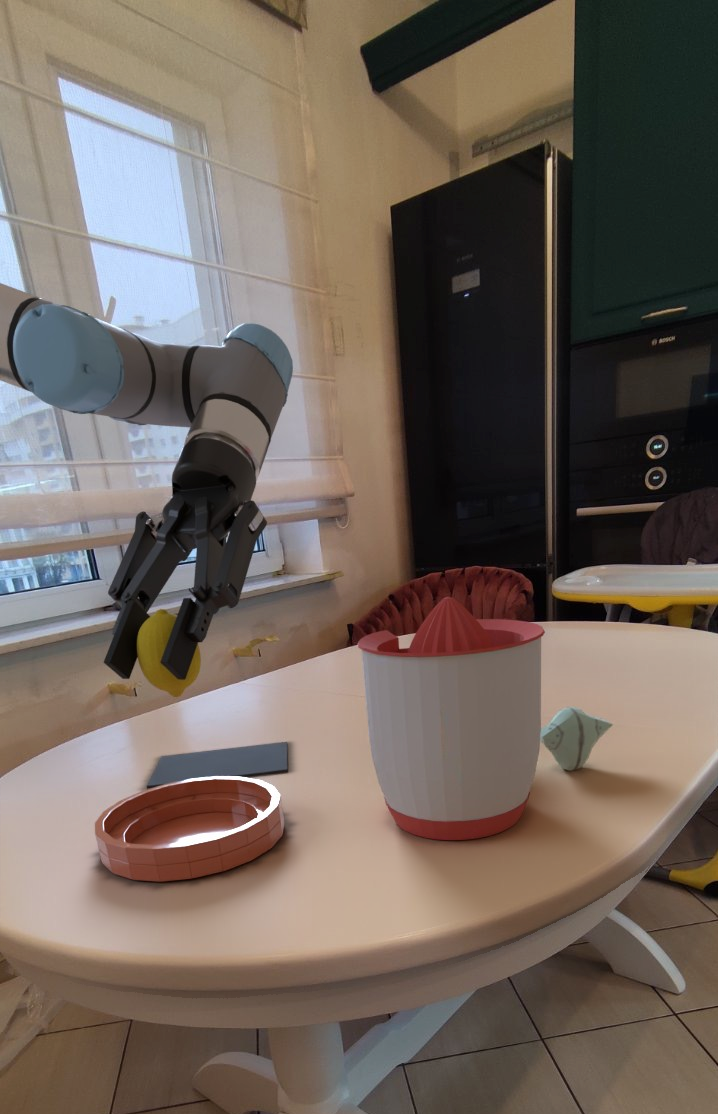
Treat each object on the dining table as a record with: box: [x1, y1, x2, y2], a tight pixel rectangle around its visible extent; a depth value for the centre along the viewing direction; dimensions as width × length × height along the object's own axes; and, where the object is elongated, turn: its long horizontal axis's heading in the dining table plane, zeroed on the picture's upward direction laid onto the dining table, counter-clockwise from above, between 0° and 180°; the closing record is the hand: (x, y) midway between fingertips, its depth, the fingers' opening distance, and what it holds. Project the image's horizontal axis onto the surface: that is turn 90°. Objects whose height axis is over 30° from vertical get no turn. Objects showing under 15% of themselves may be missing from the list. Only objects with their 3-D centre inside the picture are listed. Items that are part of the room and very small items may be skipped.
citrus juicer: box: [357, 596, 546, 841], centre depth 64 cm, size 16×17×20 cm
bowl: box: [94, 776, 285, 882], centre depth 67 cm, size 17×17×4 cm
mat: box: [146, 741, 289, 790], centre depth 87 cm, size 16×11×1 cm
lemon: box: [137, 608, 202, 698], centre depth 66 cm, size 6×6×8 cm
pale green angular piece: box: [540, 706, 614, 771], centre depth 75 cm, size 8×4×7 cm, turn 105°
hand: (144, 670), depth 63 cm, fingers closed on lemon, 5 cm apart
